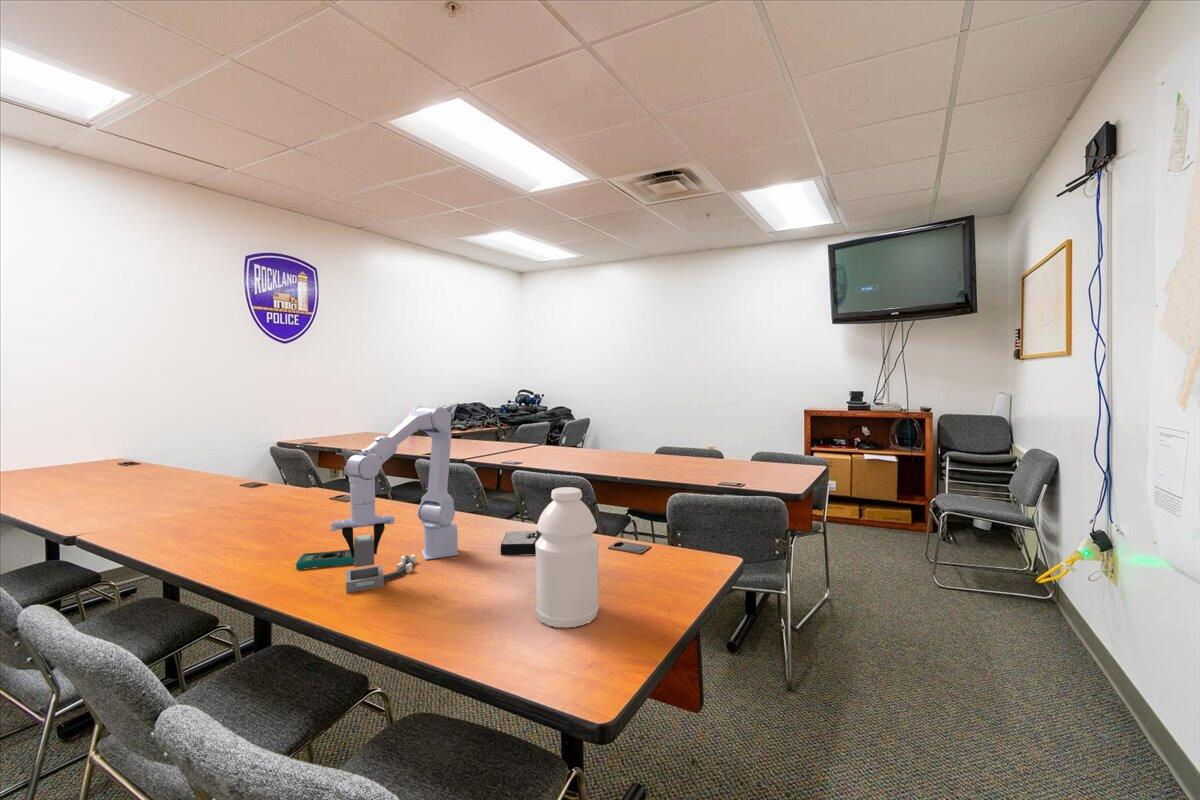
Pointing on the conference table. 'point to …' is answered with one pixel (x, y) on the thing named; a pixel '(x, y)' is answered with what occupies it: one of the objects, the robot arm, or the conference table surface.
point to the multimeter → (519, 542)
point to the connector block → (364, 550)
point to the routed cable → (402, 567)
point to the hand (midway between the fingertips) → (364, 554)
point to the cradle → (366, 582)
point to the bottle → (566, 561)
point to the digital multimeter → (325, 559)
